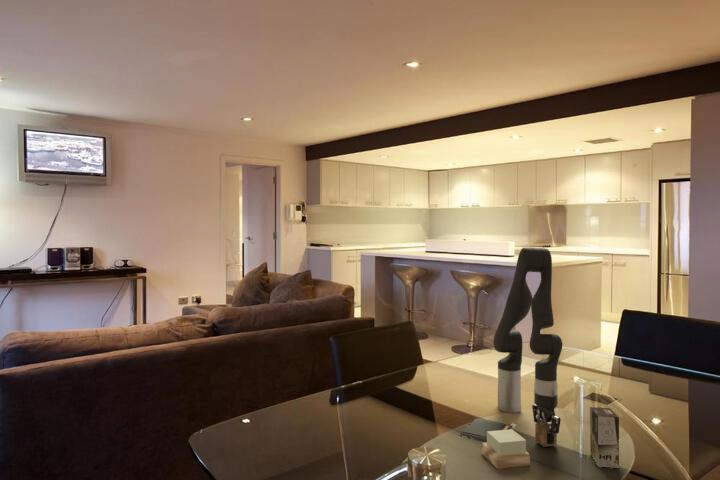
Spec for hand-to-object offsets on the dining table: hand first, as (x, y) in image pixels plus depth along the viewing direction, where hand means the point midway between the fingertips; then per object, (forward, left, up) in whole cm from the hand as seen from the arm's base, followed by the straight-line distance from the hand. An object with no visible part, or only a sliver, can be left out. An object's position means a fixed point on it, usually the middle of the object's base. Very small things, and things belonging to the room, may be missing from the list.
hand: (545, 440), depth 165 cm
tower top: (+7, -19, +2) cm, 20 cm away
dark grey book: (-16, -15, -2) cm, 22 cm away
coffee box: (+15, +11, -2) cm, 19 cm away
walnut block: (0, 0, -1) cm, 1 cm away
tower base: (+7, -19, -2) cm, 20 cm away
